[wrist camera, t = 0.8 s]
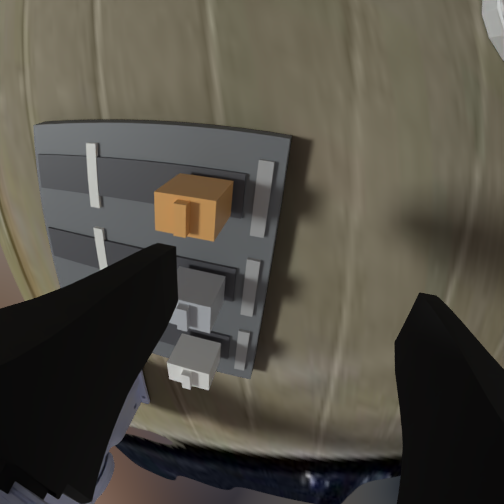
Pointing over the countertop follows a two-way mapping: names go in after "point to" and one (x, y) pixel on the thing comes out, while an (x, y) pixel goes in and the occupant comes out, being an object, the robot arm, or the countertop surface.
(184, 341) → the cube with tab
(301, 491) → the countertop surface
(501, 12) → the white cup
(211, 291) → the cube with peg
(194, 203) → the orange slider knob
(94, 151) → the control board
